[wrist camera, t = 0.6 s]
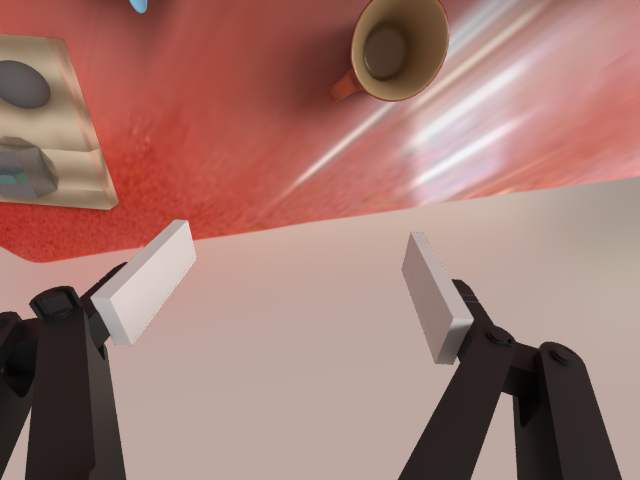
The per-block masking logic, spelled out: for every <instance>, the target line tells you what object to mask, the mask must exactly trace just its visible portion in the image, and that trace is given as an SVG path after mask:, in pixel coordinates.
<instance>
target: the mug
mask: <svg viewBox="0 0 640 480" xmlns="http://www.w3.org/2000/svg"><path fill="white" fill-rule="evenodd" d="M448 45H449V23H448V18H447V15H446V12H445V9H444V7H443V5H442V3H441V2H440V0H371V1H370V2H369V3H368V4H367V5H366V7H365V8H364V10H363V11H362V13H361V14H360V16H359V18H358V20H357V22H356V25H355V28H354V31H353V35H352V40H351V47H350V60H351V65H352V67H351V68H350V69H349V70H348V71H347V72H346V73H345V74H344V76H343V77H342V78H341V79H339V80H338V81H337V82H336V83H334V84H333V85H331V86H330V87H329V88H328V89H327V91H326V94H327V96H328V98H329V100H330V101H331V102H332V103H337V102H339V101H340V100H342V99H343V98H345V97H346V96H348V95H349V94H351V93H353V92H357V91H360V90H362V89H364V90H365V92H366V93H368V94H369V95H371V96H373V97H375V98H377V99H380V100H383V101H389V102H397V101H402V100H406V99H409V98H411V97H413V96H415V95H417V94H418V93H420V92H421V91H423V90H424V89H425V88H426V87H427V86H428V85H429V84H430V83H431V82H432V81H433V79H434V78H435V77H436V75H437V74H438V72H439V70H440V69H441V67H442V65H443V62H444V60H445V57H446V54H447V50H448Z"/></svg>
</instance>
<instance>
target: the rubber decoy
mask: <svg viewBox="0 0 640 480" xmlns="http://www.w3.org/2000/svg"><path fill="white" fill-rule="evenodd" d="M50 95H51V92H50V87H49V85H48V83H47V81H46V80H45V78H44V77H43V76H42V75H41V74H40V73H39V72H38V71H36V70H35V69H34V68H32V67H30V66H29V65H27V64H24V63H22V62H18V61H13V60H3V61H0V98H2V99H3V100H4V101H6V102H8V103H9V104H11V105H14V106H17V107H20V108H25V109H36V108H40V107H42V106H44V105H45V104H46V103H47V102H48V101H49V99H50Z"/></svg>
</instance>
